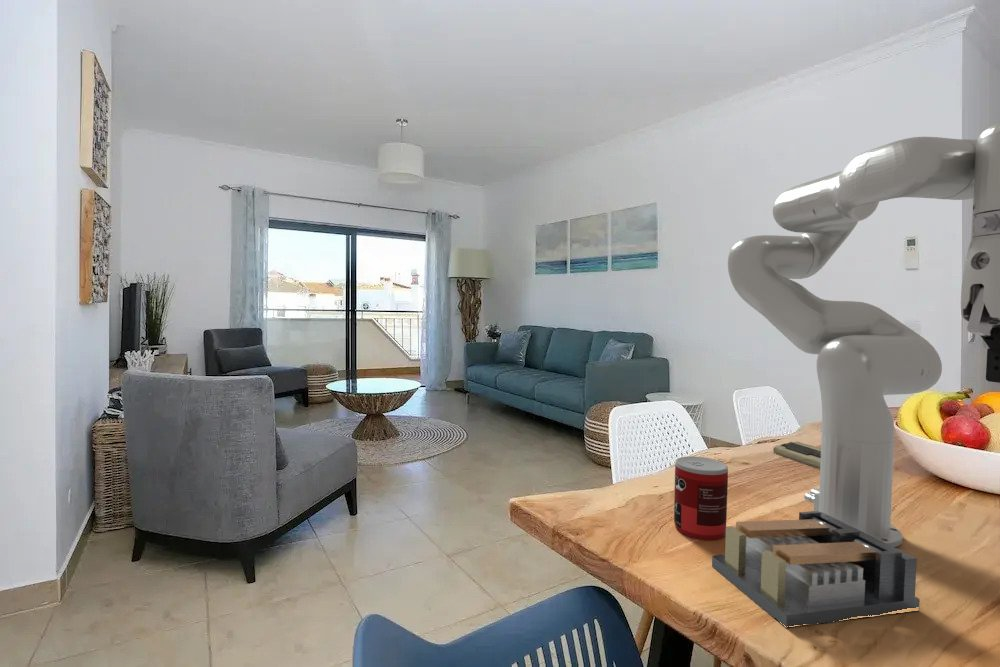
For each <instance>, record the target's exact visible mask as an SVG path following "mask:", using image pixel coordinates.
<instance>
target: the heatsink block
mask: <svg viewBox="0 0 1000 667" xmlns="http://www.w3.org/2000/svg"><path fill="white" fill-rule="evenodd" d="M798 514H799V515H798V520H805V519H811V518H812V517H815V518H817V519H819V520H821V521H823V522H825V523H827V524H829V525H831V526H833V527H835V528H837V529H833V530H832V536H831V535H818V536H793V537H768V538H748V537H747V536H746V535H745V534H744V533H742V532H741V531H739V530H738V529H736V526H734V525H729V526H727V525H726V532H725V541H724V542H725V545H724V547H725V549H724V554H718V555H717V554H715V555H712V556H711V558H712V559H711V567H712V568H713V569H715V570H716V571H717V572H718V573H719V574H720V575H722V576H723V577H724V578H726V580H728V581H729V582H730V583H731V584H732V585H733V586H735V587H736V588H738V590H740V591H741V593H743V594H744V595H746V596H747V597H748V598H749V599H750V600H752V602H754V603H755V604H756V603H757V604H756V605H757V606H759V607H760V608H761V607H762V608H763V611H764V612H766V613H767V614H768V613H769V614H768V615H769V616H771V617H772V616H773V617H774V618H776V619H777V620H778V621H779V622H781V623H782V624H784V625H785V626H786V627H787V626H788V627H789V626H794V625H803V624H816V625H818V624H817V623H824V622H832V623H834V622H833V621H839V620H843V619H847V618H848V619H849V618H851V617H857V616H868V615H869V616H870V615H871V616H872V615H880V614H883V613H888V612H892V611H897V610H902V609H907V608H916V607H919V608H920V600H921V599H920V598H919V597H917V596H916V587H917V586H916V585H917V583H916V582H917V580H916V579H917V564H918V563H917V562H918V559H917V557H915V556H913V555H911V554H908V553H907V552H906V551H905V552H904V551H902V550H901V549H898V548H897V547H893V546H890V545H888V544H886V543H884V542H882V541H880V540H878V539H876V538H874V537H872V536H870V535H868V534H866V533H864V532H862V531H860V530H858V529H856V528H854V527H851V526H849V525H847V524H845V523H843V522H841V521H839V520H837V519H835V518H833V517H831V516H829V515H827V514H825V513H823V512H819V511H814V510H813V511H801V512H800V511H799V512H798ZM855 539H859V540H861V541H863V542H865V543H867V544H869V545H871V546H873V547H874V548H876V549H878V550H880V551H882V552H876V560H872V561H853V562H834V563H815V564H796V565H789V564H788V563H786V561H785V560H783V559H782V558H780V557H779V556H777V555H776V554H774V553H773V545H794V544H817V543H840V542H853V541H854V540H855ZM762 608H761V609H762ZM773 617H772V618H773ZM776 619H775V620H776ZM777 620H776V621H777ZM778 621H777V622H778ZM779 622H778V623H779ZM782 624H781V625H782ZM824 624H825V623H824Z"/></svg>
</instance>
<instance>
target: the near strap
mask: <svg viewBox="0 0 1000 667" xmlns="http://www.w3.org/2000/svg"><path fill="white" fill-rule="evenodd" d="M876 552H882V551H880V550H878V549H876V548H874V547H873V546H871V545H869V544H867V543H865V542H863V541H861V540H859V539H855V540H854V541H853V542H840V543H817V544H794V545H773V553H774V554H776V555H777V556H779V557H780V558H782V559H783V560H785V561H786V563H788V564H789V565H796V564H815V563H834V562H853V561H872V560H876Z"/></svg>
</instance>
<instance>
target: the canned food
mask: <svg viewBox="0 0 1000 667" xmlns="http://www.w3.org/2000/svg"><path fill="white" fill-rule="evenodd" d="M674 466H675V467H674V499H673V500H674V504H673V505H674V506H673V523H674V525H675V526H674V528H676V530H677V531H678V532H679V533H680V534H682V535H684V536H686V537H689V538H692V539H697V540H701V541H702V540H703V541H715V540H717V541H718V540H720V539H722V538H723V537H724V536H725V535H726V527H727V513H728V512H727V511H728V484H729V483H728V482H729V476H728V475H729V468H728V465H727V464H726V463H724V462H723V461H720V460H718V459H714V458H710V457H705V456H692V455H691V456H689V455H688V456H681V457H678V458H676V459H675V464H674Z"/></svg>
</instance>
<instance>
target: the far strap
mask: <svg viewBox="0 0 1000 667" xmlns="http://www.w3.org/2000/svg"><path fill="white" fill-rule="evenodd" d="M735 528H736V529H738V530H739V531H741V532H742V533H744V534H745V535H746V536H747V537H748V538H768V537H793V536H818V535H831V536H832V530H833V529H837V528H835V527H833V526H831V525H829V524H827V523H825V522H823V521H821V520H819V519H817V518H815V517H812V518H811V519H805V520H799V519H782V520H781V519H780V520H777V519H776V520H755V521H754V520H752V521H751V520H750V521H736V522H735Z"/></svg>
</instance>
